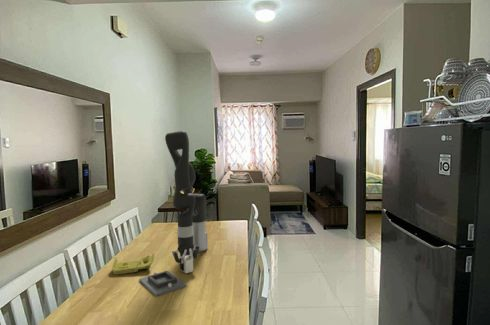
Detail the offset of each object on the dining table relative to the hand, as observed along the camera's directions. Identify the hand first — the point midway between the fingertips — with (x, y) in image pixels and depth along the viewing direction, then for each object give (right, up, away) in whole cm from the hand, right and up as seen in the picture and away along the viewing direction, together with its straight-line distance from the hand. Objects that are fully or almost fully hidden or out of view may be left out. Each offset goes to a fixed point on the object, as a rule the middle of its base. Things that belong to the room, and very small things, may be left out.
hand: (186, 268), depth 147 cm
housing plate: (-9, -2, -12) cm, 15 cm away
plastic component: (-27, -2, +4) cm, 27 cm away
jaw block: (0, -1, 0) cm, 1 cm away
